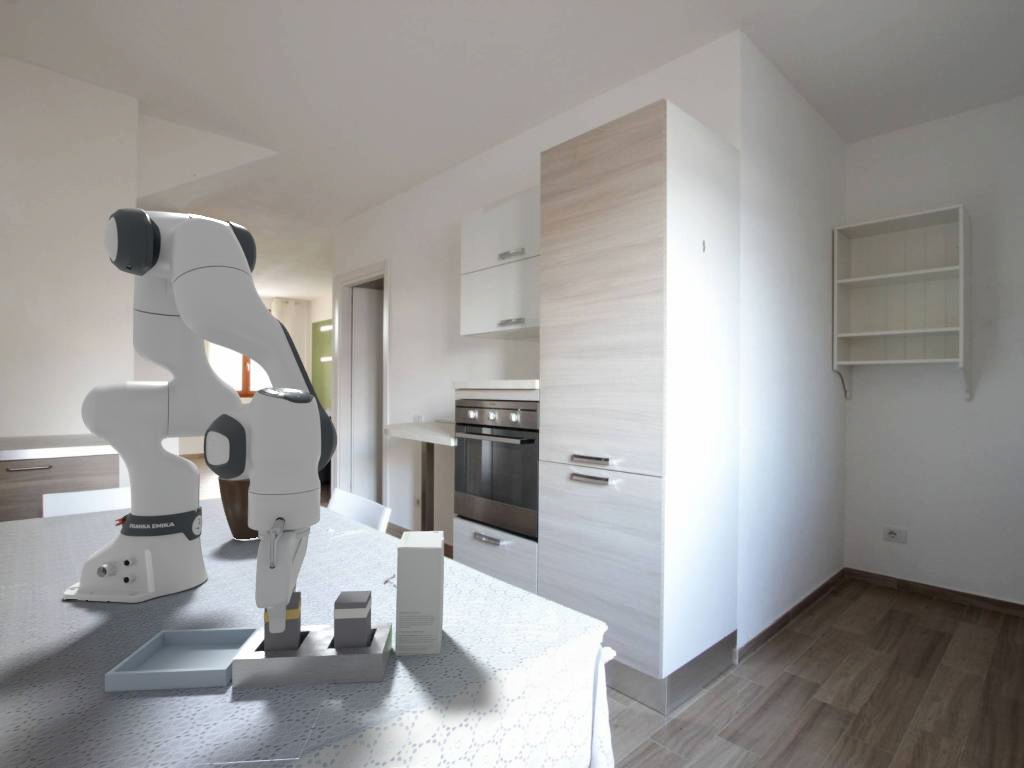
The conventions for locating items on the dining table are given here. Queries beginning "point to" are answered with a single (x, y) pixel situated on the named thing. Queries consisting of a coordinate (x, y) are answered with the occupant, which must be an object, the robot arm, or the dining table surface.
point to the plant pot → (236, 507)
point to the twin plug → (352, 619)
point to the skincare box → (419, 593)
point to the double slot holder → (313, 660)
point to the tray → (181, 660)
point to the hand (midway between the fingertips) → (283, 614)
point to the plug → (292, 632)
